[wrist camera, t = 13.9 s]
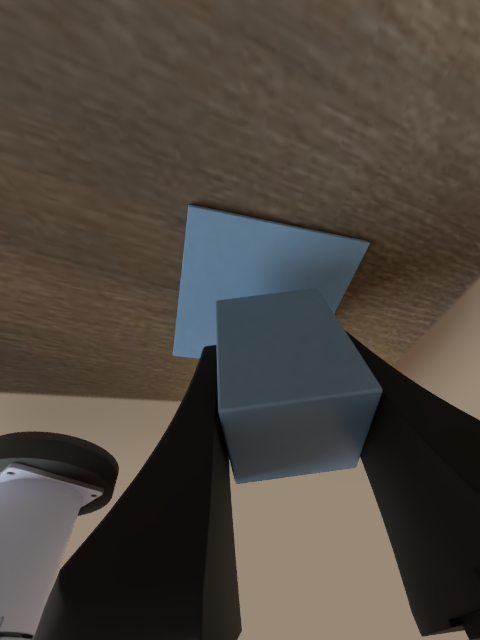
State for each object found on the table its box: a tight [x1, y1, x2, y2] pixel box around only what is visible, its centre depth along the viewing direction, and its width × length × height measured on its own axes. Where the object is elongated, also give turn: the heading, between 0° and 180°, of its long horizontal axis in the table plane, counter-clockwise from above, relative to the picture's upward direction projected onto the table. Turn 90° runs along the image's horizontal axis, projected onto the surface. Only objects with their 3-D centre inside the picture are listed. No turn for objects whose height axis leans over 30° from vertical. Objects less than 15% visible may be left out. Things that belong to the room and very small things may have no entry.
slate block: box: [215, 288, 382, 484], centre depth 10 cm, size 4×4×5 cm
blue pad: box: [173, 204, 370, 358], centre depth 13 cm, size 8×8×1 cm
